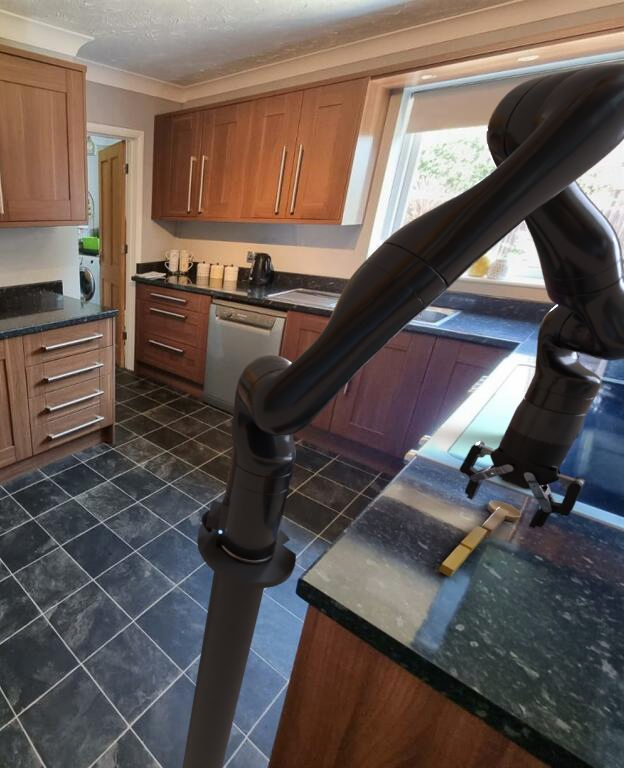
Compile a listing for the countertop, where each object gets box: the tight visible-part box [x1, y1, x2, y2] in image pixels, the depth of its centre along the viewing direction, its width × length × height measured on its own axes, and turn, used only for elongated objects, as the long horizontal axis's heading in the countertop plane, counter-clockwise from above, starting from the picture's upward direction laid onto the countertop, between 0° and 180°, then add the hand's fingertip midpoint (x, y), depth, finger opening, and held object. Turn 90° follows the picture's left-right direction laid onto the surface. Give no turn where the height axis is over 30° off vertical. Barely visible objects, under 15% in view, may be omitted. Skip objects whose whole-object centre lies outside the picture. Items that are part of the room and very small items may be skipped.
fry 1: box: [438, 543, 471, 578], centre depth 65 cm, size 7×2×2 cm, turn 125°
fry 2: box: [460, 525, 487, 556], centre depth 69 cm, size 7×2×2 cm, turn 125°
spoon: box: [480, 500, 522, 538], centre depth 74 cm, size 12×4×2 cm, turn 125°
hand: (500, 510), depth 73 cm, fingers open, 8 cm apart
